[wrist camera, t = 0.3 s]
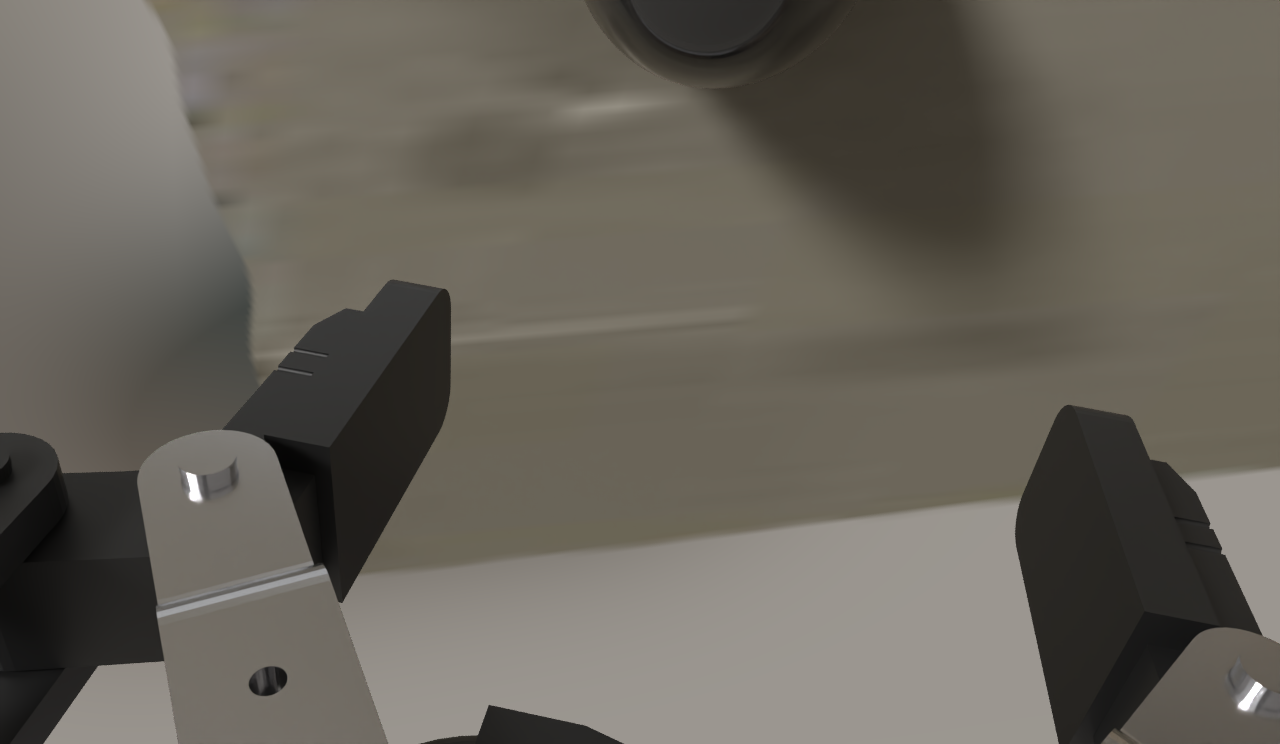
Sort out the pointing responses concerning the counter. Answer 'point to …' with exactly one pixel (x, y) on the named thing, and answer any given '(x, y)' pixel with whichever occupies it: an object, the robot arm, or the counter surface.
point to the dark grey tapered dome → (718, 36)
